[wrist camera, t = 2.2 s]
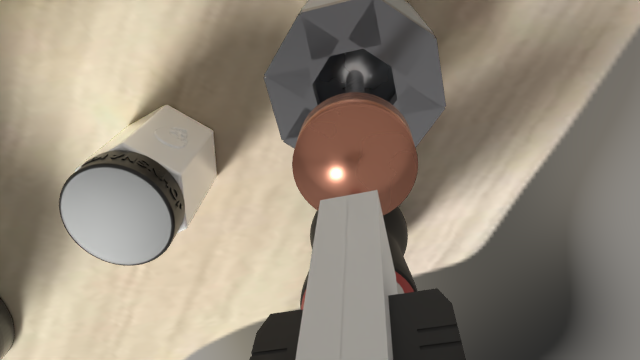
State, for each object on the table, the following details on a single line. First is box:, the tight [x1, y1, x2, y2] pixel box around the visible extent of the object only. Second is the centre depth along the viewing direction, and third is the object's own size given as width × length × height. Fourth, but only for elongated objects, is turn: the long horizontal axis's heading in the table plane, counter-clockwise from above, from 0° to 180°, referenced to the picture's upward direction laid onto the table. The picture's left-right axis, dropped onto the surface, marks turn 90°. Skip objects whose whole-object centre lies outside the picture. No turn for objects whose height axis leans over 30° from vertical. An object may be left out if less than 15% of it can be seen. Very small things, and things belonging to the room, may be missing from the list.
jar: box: [59, 105, 217, 265], centre depth 40 cm, size 9×8×12 cm
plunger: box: [292, 49, 418, 215], centre depth 24 cm, size 6×6×13 cm
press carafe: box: [264, 0, 446, 148], centre depth 34 cm, size 9×12×15 cm
